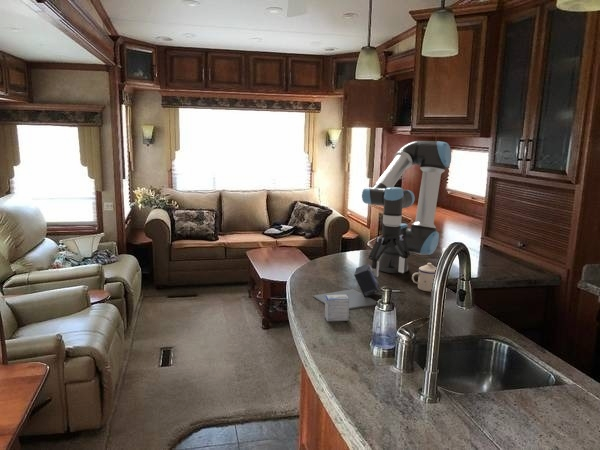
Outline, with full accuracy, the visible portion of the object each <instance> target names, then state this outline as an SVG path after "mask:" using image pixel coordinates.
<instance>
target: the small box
mask: <svg viewBox="0 0 600 450" xmlns="http://www.w3.org/2000/svg"><path fill="white" fill-rule="evenodd" d="M353 276H354V278H355V279H356V283H357V284H358V286H359V288H360V291H361V293H362V294H363V295H364V297H369V296H371V295H372V296H373V295H374V294H377V293H379V287H380V283H379V281H378V278H377V277H376V276H374V275H373V268H372V266H371V264H370V263H366V264H363V265H360V266H359V267H356V269H355V272H354V275H353Z"/></svg>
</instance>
